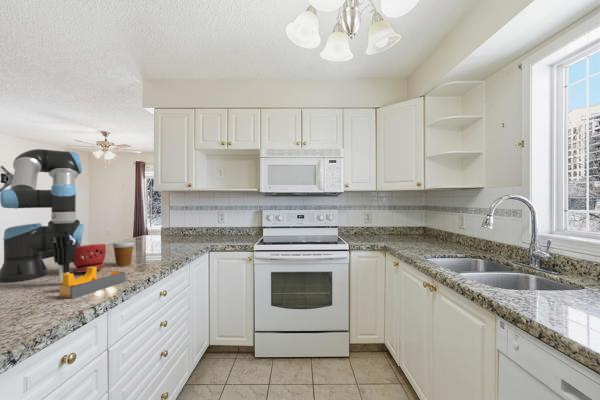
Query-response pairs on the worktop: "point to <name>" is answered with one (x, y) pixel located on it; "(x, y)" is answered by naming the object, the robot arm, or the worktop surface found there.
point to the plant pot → (89, 257)
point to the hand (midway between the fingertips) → (64, 280)
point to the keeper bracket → (92, 285)
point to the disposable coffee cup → (123, 252)
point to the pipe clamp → (89, 276)
